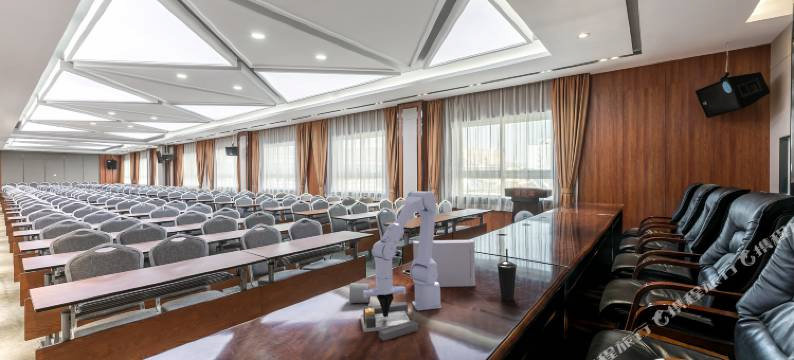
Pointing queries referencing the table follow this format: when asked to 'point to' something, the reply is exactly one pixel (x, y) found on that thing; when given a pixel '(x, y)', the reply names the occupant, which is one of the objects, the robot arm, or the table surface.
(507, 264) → the drinking cup
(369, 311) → the orange l block
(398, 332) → the duct
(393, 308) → the duct
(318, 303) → the table surface
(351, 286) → the gray rounded block
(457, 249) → the game console
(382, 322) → the panel
